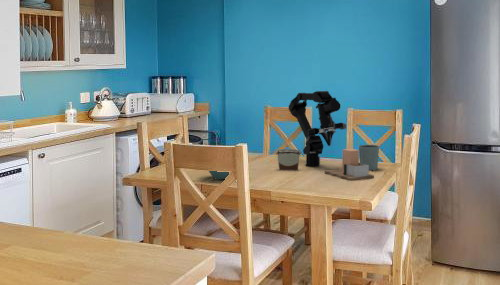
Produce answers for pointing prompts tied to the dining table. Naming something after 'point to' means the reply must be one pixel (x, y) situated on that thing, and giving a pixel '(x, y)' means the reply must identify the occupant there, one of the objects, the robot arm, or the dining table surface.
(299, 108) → the robot arm
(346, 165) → the grey block
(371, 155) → the grey embossed cylinder
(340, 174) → the walnut board
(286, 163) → the food container
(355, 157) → the terracotta peg
